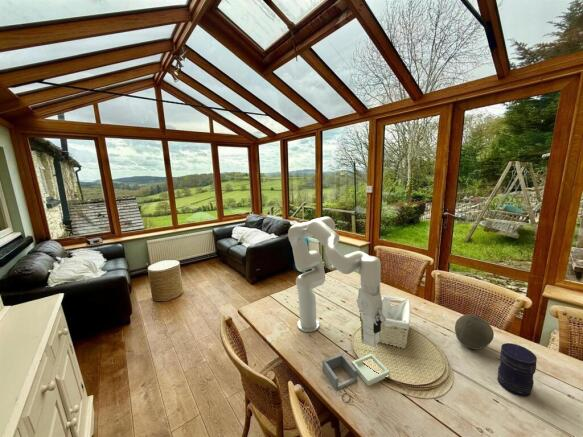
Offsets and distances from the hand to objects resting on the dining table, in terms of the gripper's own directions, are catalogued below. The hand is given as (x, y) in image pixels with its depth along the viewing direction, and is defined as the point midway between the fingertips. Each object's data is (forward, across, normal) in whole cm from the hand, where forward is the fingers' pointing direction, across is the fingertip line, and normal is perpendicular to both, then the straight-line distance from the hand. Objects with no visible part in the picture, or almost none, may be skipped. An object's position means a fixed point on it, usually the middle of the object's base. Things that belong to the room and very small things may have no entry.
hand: (370, 325), depth 97 cm
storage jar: (+22, +29, +45) cm, 58 cm away
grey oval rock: (+22, +9, +53) cm, 58 cm away
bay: (+22, -4, -13) cm, 26 cm away
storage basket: (+22, -15, +27) cm, 38 cm away
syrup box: (+7, +1, 0) cm, 7 cm away
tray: (+22, 0, 0) cm, 22 cm away
